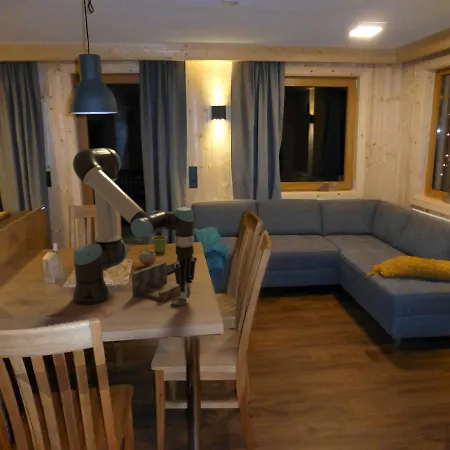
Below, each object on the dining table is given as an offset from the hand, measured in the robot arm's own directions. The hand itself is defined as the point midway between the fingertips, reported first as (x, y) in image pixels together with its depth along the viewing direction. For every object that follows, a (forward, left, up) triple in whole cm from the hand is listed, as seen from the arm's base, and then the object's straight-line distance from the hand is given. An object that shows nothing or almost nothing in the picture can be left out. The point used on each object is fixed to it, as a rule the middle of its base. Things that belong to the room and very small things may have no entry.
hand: (185, 297), depth 179 cm
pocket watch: (-2, +1, -1) cm, 3 cm away
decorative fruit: (+26, +50, -2) cm, 56 cm away
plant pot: (+51, +65, -2) cm, 82 cm away
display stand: (+1, +16, -2) cm, 16 cm away
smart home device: (+29, +35, -3) cm, 46 cm away
